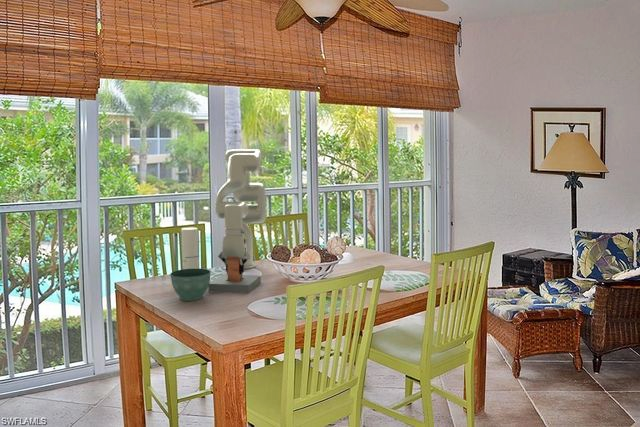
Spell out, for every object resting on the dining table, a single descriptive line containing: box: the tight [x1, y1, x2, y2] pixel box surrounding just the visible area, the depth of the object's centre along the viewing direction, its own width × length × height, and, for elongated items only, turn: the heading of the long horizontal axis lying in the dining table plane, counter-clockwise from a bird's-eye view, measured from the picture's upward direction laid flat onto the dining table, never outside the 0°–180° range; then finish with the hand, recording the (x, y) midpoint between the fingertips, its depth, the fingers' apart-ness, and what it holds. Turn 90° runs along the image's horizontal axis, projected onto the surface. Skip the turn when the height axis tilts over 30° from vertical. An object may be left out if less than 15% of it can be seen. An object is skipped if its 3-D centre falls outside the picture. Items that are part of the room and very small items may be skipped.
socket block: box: [207, 273, 262, 294], centre depth 269 cm, size 18×18×4 cm
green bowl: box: [170, 268, 212, 302], centre depth 251 cm, size 16×16×11 cm
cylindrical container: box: [180, 226, 200, 269], centre depth 276 cm, size 7×7×25 cm
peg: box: [227, 257, 243, 282], centre depth 268 cm, size 5×5×12 cm
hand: (234, 272), depth 269 cm, fingers closed on peg, 5 cm apart
